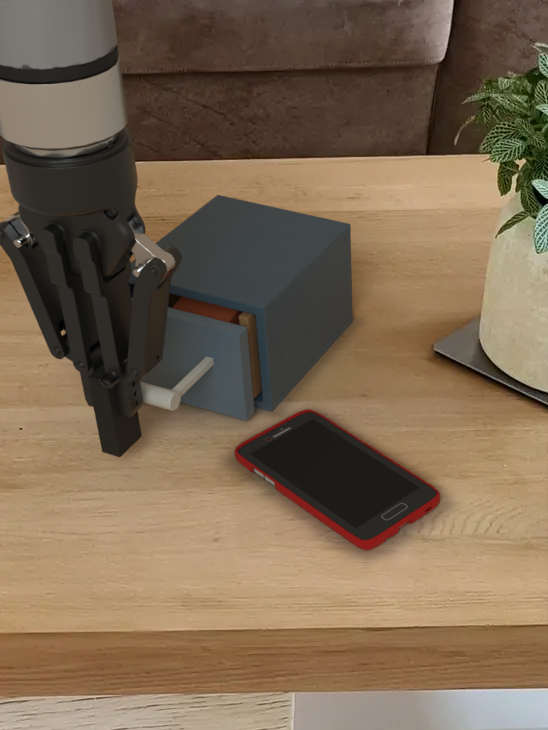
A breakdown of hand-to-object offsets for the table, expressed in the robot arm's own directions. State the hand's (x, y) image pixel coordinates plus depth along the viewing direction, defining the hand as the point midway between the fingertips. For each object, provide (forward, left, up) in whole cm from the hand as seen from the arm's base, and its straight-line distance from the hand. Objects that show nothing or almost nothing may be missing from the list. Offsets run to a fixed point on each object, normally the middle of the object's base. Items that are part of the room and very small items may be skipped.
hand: (122, 443), depth 84 cm
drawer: (0, +11, -2) cm, 11 cm away
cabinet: (0, +18, -2) cm, 18 cm away
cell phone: (+15, +5, -2) cm, 16 cm away
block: (0, +13, 0) cm, 13 cm away
